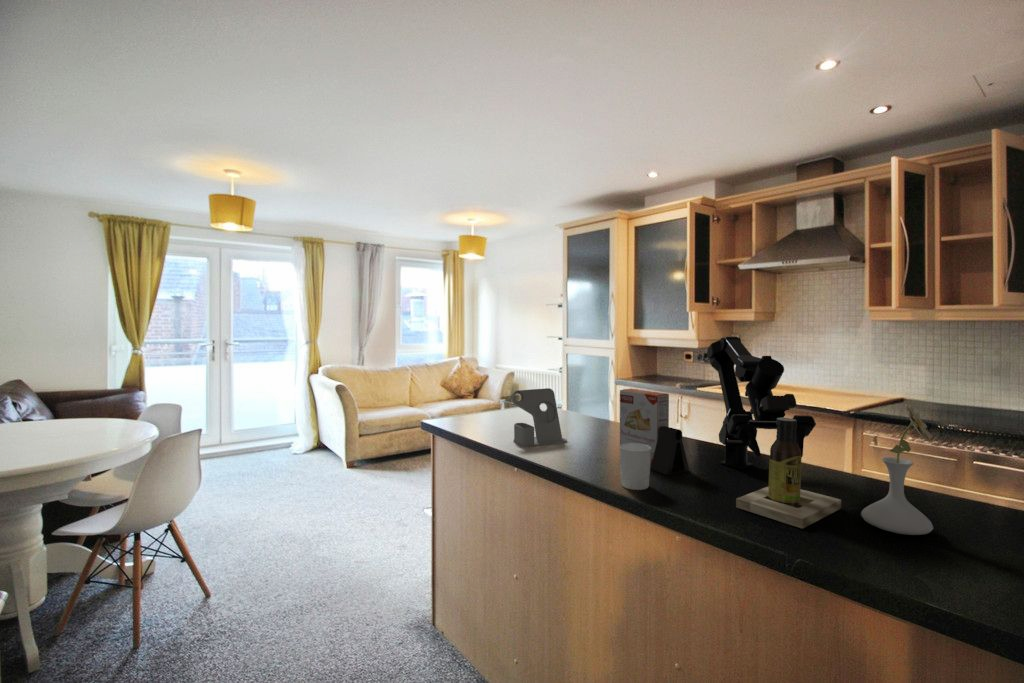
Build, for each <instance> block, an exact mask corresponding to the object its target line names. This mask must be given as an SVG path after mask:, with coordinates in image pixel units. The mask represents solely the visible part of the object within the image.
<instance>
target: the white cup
mask: <svg viewBox="0 0 1024 683" xmlns="http://www.w3.org/2000/svg"><path fill="white" fill-rule="evenodd" d="M618 448H619V450H618V451H619V452H618V453H619V470H620V472H619V473H620V479H621V480H620V485H621V486H622V487H623V488H625V489H628V490H632V491H642V490H647V489H648V488H650V475H651V470H650V468H651V465H650V463H651V447H650V446H648V445H644V444H638V443H626V444H621V445H620V444H619V445H618Z"/></svg>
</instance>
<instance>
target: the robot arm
mask: <svg viewBox="0 0 1024 683" xmlns="http://www.w3.org/2000/svg"><path fill="white" fill-rule="evenodd" d="M706 356H707V359H708V360H709V362H710V365H711V367H712V368H713V369H714V370H715V371H716V372H717V374H718V377H719V378H718V379H719V382H720V383H719V384H720V388H721V393H722V397H723V403H724V407H725V411H726V412H725V413H726V414H725V417H724V419H723V421H722V425H721V428H720V431H719V433H718V440H719V441H718V442H719V443H721V444H722V445H723V446H725V447H724V448H725V449H724V460H721V461H719V464H721V465H725V466H727V467H728V466H729V467H733V468H736V469H744V468H747V467H750V466H753V465H754V464H753V463H752V462H749V461H748V448H749V449H750V451H752V453H754V455H755V456H756V457H757V458H760V457H761V455H762V454H761V450H760V446H759V443H758V441H757V434H758V430H759V429H761V430H762V429H764V430H777V425H776V420H777V418H782V417H783V418H785V416H786V411H789V410H790V409H794V408H796V406H797V399H796V397H795V395H794V394H793V393H785V394H783V395H774V394H773V391H772V390H773V389H776V387H777V385H778V383H779V382H780V379H781V378H782V376H783V374H784V372H785V367H784V364H782V363H781V362H780V361H778V360H775V359H774V358H772V356H771V355H762V356H761V357H758V356H754V355H752V354H751V353H750V351H749V350H748V348H746V346H745V345H744V344H743V342H742V340H741V338H740V337H738V336H723V337H721V338H720V339H719V340H717V341H715V342H712V343H711V344H710V345H709V346H708V348H707V349H706ZM738 381H739V382H741V383H747V384H746V385H745V392H744V393H745V394H744V396H745V397H747V398H748V402H749V405H750V407H751V408H750V409H749V410H748V411H747V410H745V409H744V404H743V402H742V398H741V392H740V388H739V383H738ZM792 419H795V420H797V427H796V443H797V445H798V446H799V448H800V450H801V455H802V457H801V459H802V458H803V456H804V440H805V438H806V437H808V436H809V435H810V434H811V432H812V431H813V430H814V428H815V427H816V425H817V423H816V420H815V418H814V417H813V416H812V415H809V414H807V415H805V414H794V415H793V417H792Z"/></svg>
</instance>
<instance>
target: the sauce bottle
mask: <svg viewBox="0 0 1024 683" xmlns="http://www.w3.org/2000/svg"><path fill="white" fill-rule="evenodd" d="M776 425H777V429H776V435H775V436H776V437H775V438H776V439H775V440H774V442H773V443H772V444H771V446H770V449H769V459H768V460H769V461H768V464H769V466H768V486H767V487H768V497H769V500H772V501H775V502H779V503H782V504H786V505H789V506H792V507H796V508H800V505H799V502H800V489H801V485H802V483H801V482H802V458H803V456H802V455H801V450H800V448H799V446H798V445H797V443H796V427H797V420H795V419H793V418H792V417H791V418H790V417H782V418H777V420H776ZM801 457H802V458H801Z"/></svg>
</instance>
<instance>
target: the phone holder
mask: <svg viewBox="0 0 1024 683" xmlns="http://www.w3.org/2000/svg"><path fill="white" fill-rule="evenodd" d="M517 394H518V395H519V396H520V400H517V399H516V397H515V395H517ZM511 401H512V402H511V403H513V405H514V406H517V407H518V408H519V409H522V410H523V411H524V412H527V413H528V414H530V415H531V417H532V420H533V425H530V424H528V423H526V422H516V423H514V424H513V425H514V426H513V431H514V432H513V435H514V437H513V438H514V439H513V443H515V444H516V445H518V446H520V447H523V448H533V447H541V446H550V445H557V444H565V443H568V439H567V438H564V437H563V435H562V431H561V430H562V429H561V424H560V418H559V412H558V406H557V400H556V395H555V391H554V389H552V388H550V387H548V388H534V389H531V388H530V389H521V390H520V389H519V390H516V391H514V392H512V394H511ZM542 404H544V405H545V406H546V409H545V410H542V409H541V405H542Z"/></svg>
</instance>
